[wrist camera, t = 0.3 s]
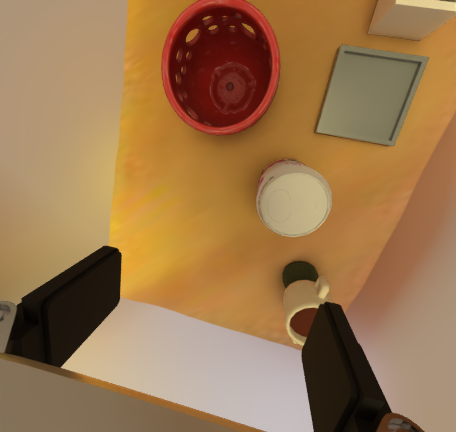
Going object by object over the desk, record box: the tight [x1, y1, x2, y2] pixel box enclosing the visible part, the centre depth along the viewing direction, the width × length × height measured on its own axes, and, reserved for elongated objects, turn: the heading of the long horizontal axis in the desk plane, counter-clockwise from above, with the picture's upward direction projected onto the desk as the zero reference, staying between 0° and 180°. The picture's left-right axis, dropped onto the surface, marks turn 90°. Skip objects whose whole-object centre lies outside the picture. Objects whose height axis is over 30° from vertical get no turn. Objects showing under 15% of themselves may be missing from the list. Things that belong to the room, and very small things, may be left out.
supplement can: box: [256, 158, 332, 237], centre depth 31 cm, size 8×8×15 cm
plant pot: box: [161, 0, 280, 136], centre depth 30 cm, size 13×13×12 cm
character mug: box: [283, 262, 333, 346], centre depth 37 cm, size 11×7×13 cm, turn 161°
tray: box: [314, 45, 429, 146], centre depth 32 cm, size 11×11×2 cm
